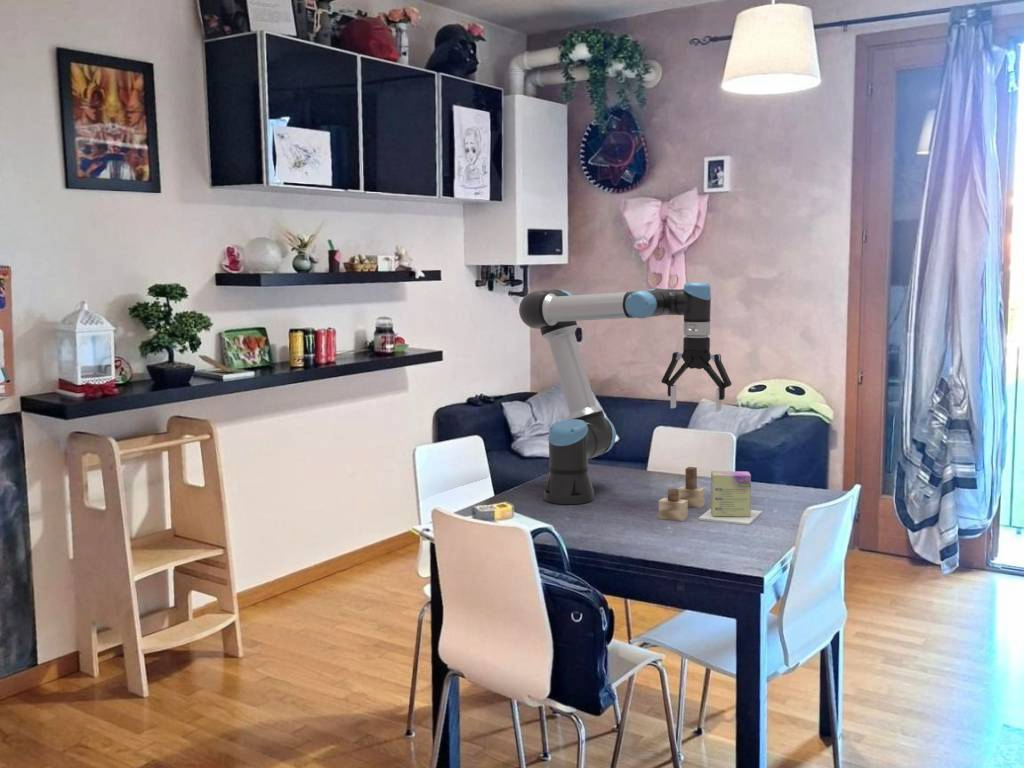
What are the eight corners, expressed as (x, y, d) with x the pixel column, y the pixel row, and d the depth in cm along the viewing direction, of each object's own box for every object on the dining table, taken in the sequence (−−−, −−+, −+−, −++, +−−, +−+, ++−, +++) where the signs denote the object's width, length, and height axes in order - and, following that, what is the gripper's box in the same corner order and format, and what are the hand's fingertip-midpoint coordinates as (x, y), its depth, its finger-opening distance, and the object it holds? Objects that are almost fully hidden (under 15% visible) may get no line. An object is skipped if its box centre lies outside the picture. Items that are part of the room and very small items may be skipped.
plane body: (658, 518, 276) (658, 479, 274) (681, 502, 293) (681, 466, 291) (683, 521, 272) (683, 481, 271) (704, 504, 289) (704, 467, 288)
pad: (698, 519, 273) (698, 517, 273) (713, 508, 285) (713, 506, 285) (749, 525, 267) (749, 523, 266) (762, 513, 279) (762, 511, 279)
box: (748, 511, 278) (748, 470, 277) (750, 517, 273) (751, 475, 271) (710, 511, 279) (710, 470, 278) (712, 517, 274) (712, 475, 272)
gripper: (651, 336, 288) (650, 408, 290) (735, 338, 276) (734, 414, 278) (660, 334, 294) (659, 404, 297) (743, 336, 282) (741, 410, 285)
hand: (695, 409), depth 288 cm, fingers open, 13 cm apart
